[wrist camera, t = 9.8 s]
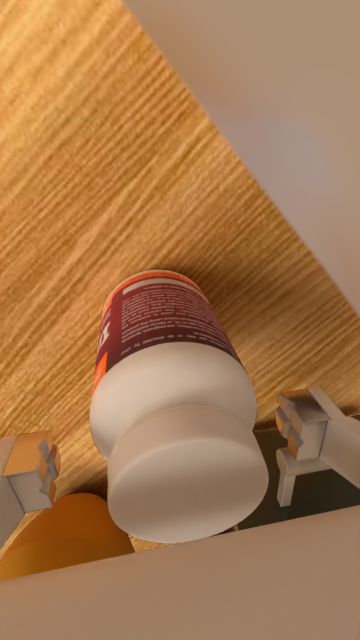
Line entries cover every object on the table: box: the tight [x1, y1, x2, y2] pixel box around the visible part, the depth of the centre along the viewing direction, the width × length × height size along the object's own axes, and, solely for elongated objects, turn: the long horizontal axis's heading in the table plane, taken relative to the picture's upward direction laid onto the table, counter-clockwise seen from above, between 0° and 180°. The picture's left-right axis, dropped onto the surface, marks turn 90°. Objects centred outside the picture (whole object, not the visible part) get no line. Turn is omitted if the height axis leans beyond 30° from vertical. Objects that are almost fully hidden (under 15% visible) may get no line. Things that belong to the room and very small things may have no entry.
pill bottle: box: [89, 270, 269, 543], centre depth 14 cm, size 6×6×11 cm
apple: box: [0, 492, 135, 581], centre depth 20 cm, size 10×10×12 cm
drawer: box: [223, 415, 360, 534], centre depth 22 cm, size 18×12×8 cm
